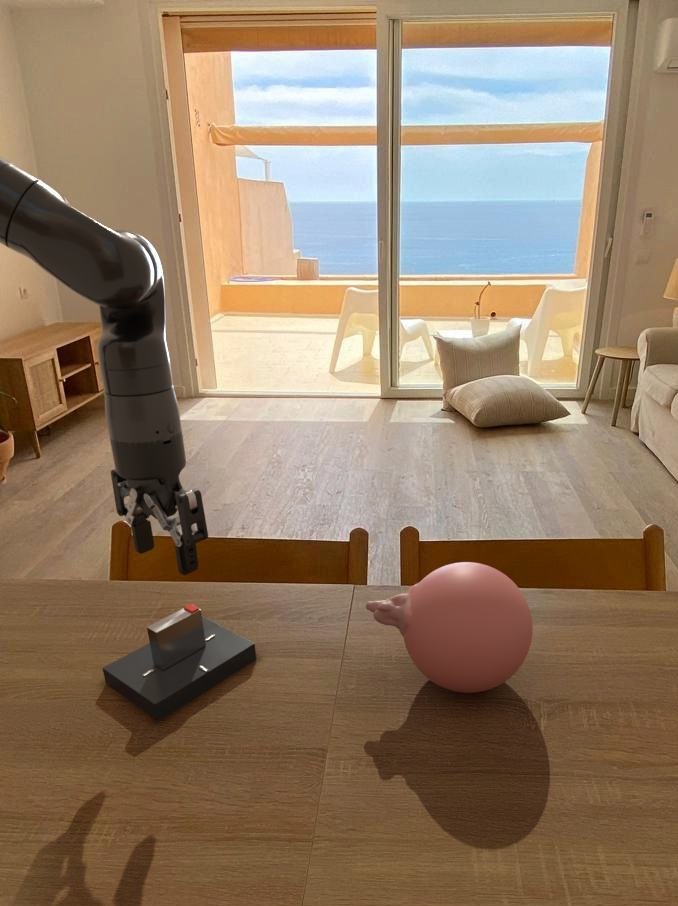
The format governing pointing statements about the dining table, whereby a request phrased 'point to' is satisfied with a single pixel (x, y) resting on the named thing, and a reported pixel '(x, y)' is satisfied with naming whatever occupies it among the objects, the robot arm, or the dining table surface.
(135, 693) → the base
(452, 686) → the balloon
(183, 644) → the tap handle
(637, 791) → the dining table surface
